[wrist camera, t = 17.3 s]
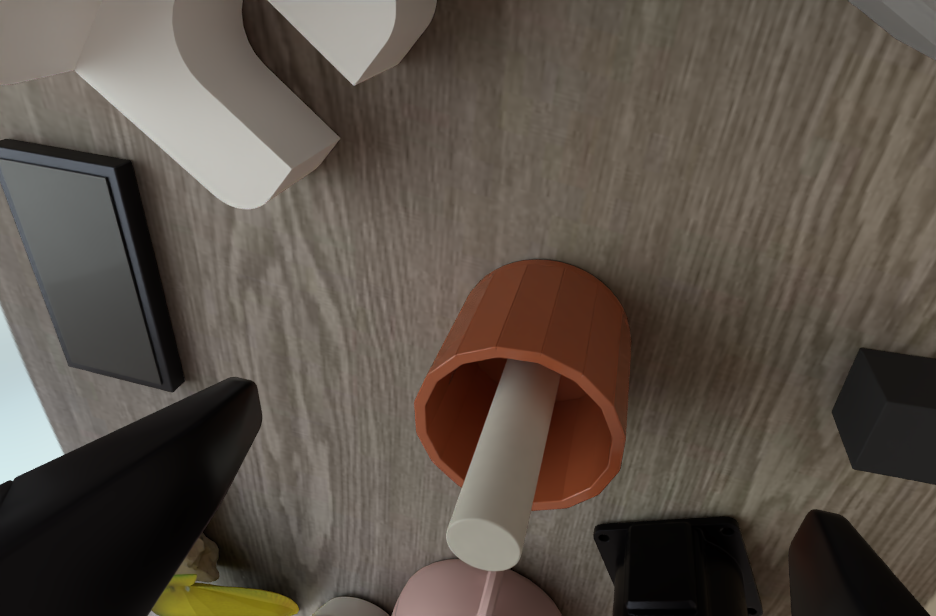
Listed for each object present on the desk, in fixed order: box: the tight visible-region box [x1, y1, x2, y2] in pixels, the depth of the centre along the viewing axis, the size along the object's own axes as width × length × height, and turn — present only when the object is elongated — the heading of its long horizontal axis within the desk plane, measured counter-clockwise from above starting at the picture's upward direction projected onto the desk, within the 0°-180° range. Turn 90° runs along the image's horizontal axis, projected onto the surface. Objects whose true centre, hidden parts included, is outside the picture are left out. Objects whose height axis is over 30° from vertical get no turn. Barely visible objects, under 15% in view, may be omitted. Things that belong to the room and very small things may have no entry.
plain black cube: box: [832, 348, 936, 485], centre depth 20 cm, size 3×3×3 cm
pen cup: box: [414, 259, 632, 511], centre depth 22 cm, size 7×7×6 cm
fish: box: [152, 574, 299, 616], centre depth 37 cm, size 3×16×10 cm
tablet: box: [0, 139, 185, 392], centre depth 28 cm, size 12×6×1 cm, turn 176°
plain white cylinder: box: [446, 359, 561, 571], centre depth 19 cm, size 2×2×10 cm
